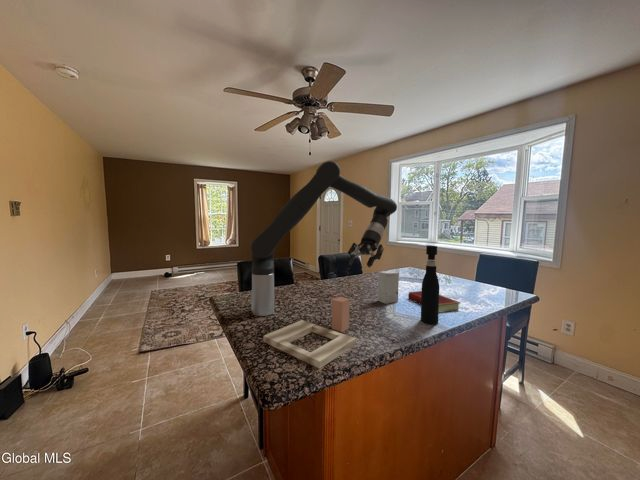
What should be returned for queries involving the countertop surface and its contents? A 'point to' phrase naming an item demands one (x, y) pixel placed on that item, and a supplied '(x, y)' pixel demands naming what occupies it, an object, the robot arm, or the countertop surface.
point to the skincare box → (388, 287)
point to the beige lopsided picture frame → (319, 355)
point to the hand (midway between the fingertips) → (358, 265)
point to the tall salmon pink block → (340, 314)
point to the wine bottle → (430, 290)
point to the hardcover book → (444, 302)
